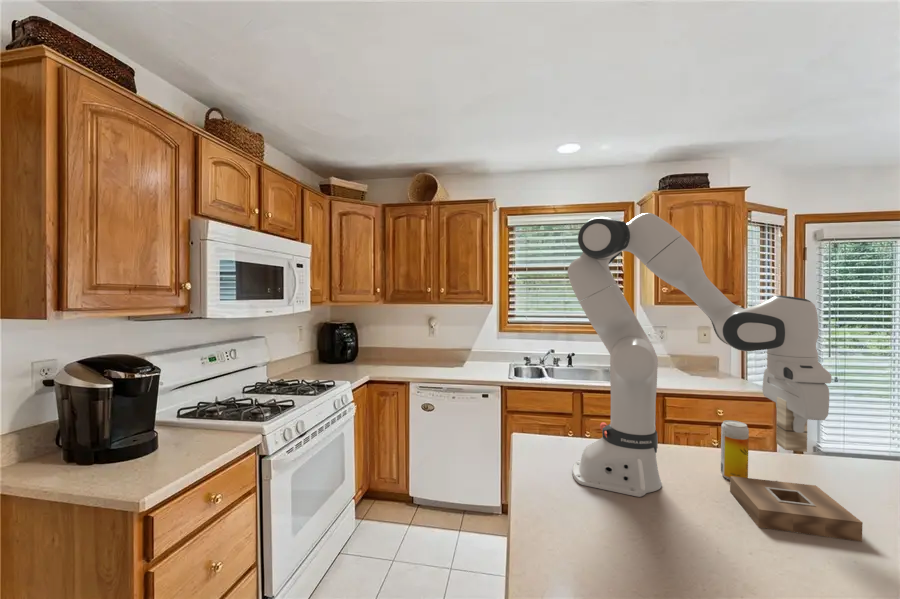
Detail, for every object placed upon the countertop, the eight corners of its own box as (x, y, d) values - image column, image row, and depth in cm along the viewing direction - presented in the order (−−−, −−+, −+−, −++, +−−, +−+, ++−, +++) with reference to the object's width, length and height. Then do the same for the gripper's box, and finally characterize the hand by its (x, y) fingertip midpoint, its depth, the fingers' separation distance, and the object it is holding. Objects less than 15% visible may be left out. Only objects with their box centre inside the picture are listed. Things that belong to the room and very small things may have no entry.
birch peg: (785, 450, 91) (785, 401, 90) (776, 443, 95) (776, 396, 94) (807, 451, 90) (807, 402, 89) (797, 445, 93) (797, 397, 93)
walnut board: (758, 527, 87) (759, 508, 87) (729, 491, 103) (730, 475, 103) (862, 541, 82) (862, 521, 82) (815, 501, 98) (815, 484, 98)
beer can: (752, 484, 107) (753, 427, 106) (726, 481, 108) (727, 426, 107) (740, 473, 113) (741, 420, 112) (716, 471, 114) (717, 419, 113)
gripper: (755, 358, 102) (754, 412, 103) (799, 375, 83) (798, 442, 83) (784, 359, 101) (784, 414, 101) (837, 377, 81) (836, 445, 81)
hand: (791, 427), depth 92 cm, fingers closed on birch peg, 4 cm apart
